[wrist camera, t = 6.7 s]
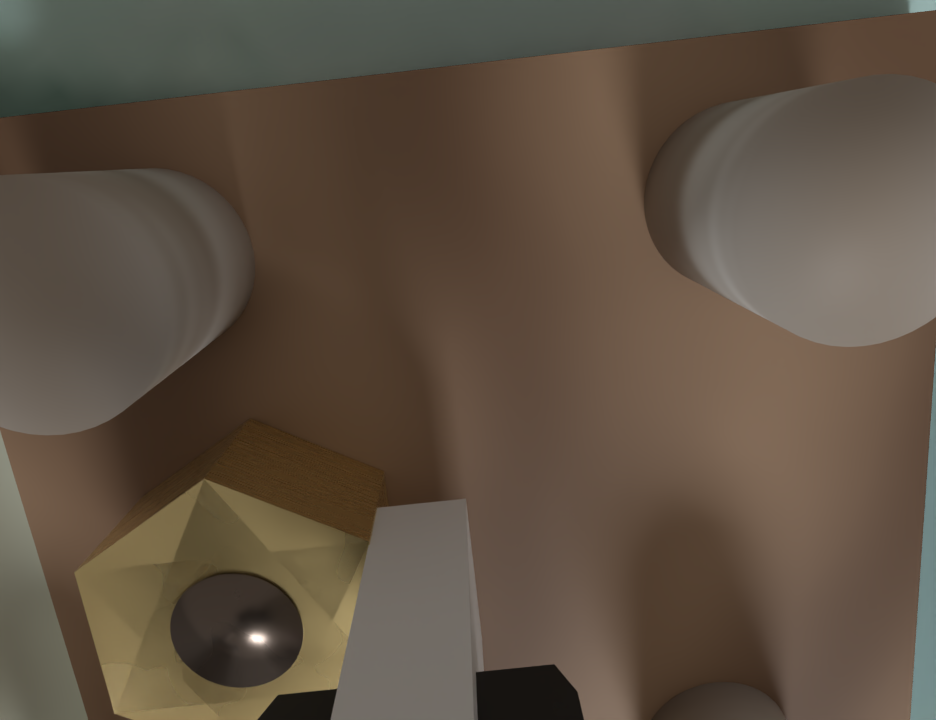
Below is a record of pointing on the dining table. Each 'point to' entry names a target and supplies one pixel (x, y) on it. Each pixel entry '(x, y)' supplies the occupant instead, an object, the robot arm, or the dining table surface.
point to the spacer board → (512, 348)
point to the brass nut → (233, 579)
